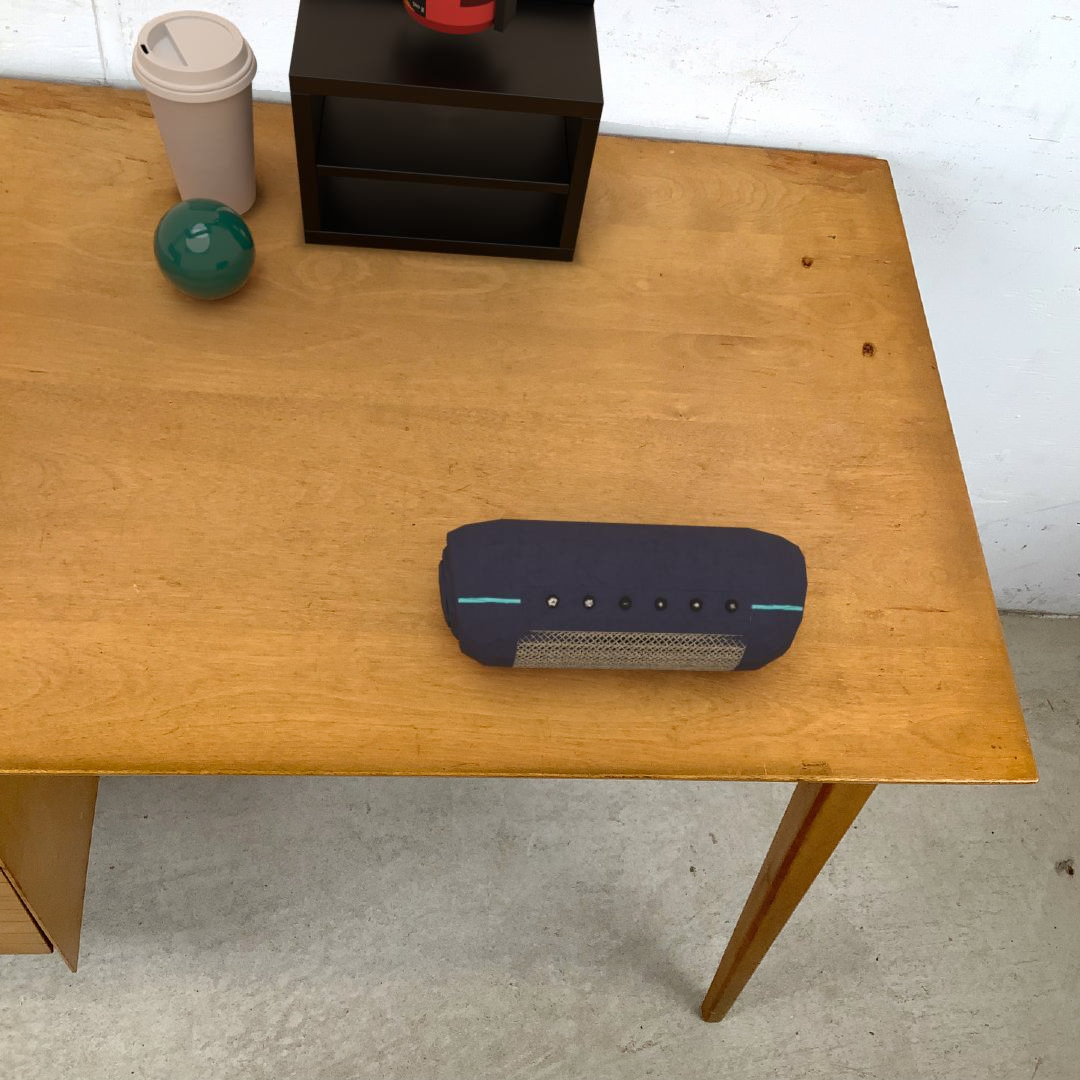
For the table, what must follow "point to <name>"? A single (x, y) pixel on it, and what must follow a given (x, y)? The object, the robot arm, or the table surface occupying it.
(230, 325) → the table surface
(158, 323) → the table surface
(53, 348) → the table surface
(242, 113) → the coffee cup
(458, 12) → the canned food
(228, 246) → the sphere
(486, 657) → the portable speaker
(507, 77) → the rack
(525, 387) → the table surface
